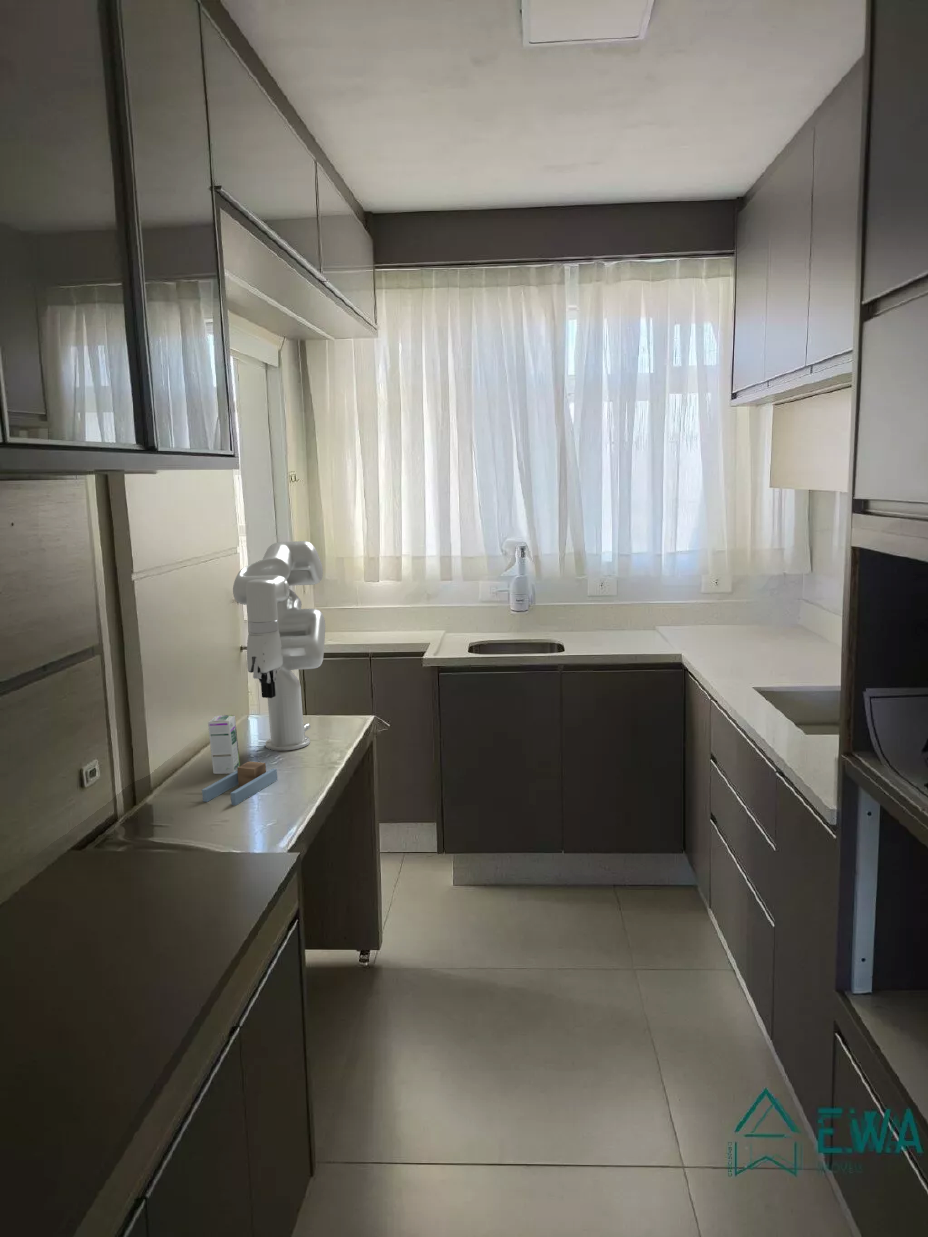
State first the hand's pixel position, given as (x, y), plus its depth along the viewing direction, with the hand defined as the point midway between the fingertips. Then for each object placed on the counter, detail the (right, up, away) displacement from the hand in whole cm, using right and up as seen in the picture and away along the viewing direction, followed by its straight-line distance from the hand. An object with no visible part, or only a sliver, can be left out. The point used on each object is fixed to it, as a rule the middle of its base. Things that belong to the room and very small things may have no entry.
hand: (268, 696), depth 233 cm
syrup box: (-12, -20, +5) cm, 24 cm away
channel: (-5, -22, -10) cm, 25 cm away
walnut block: (-3, -22, -6) cm, 22 cm away
